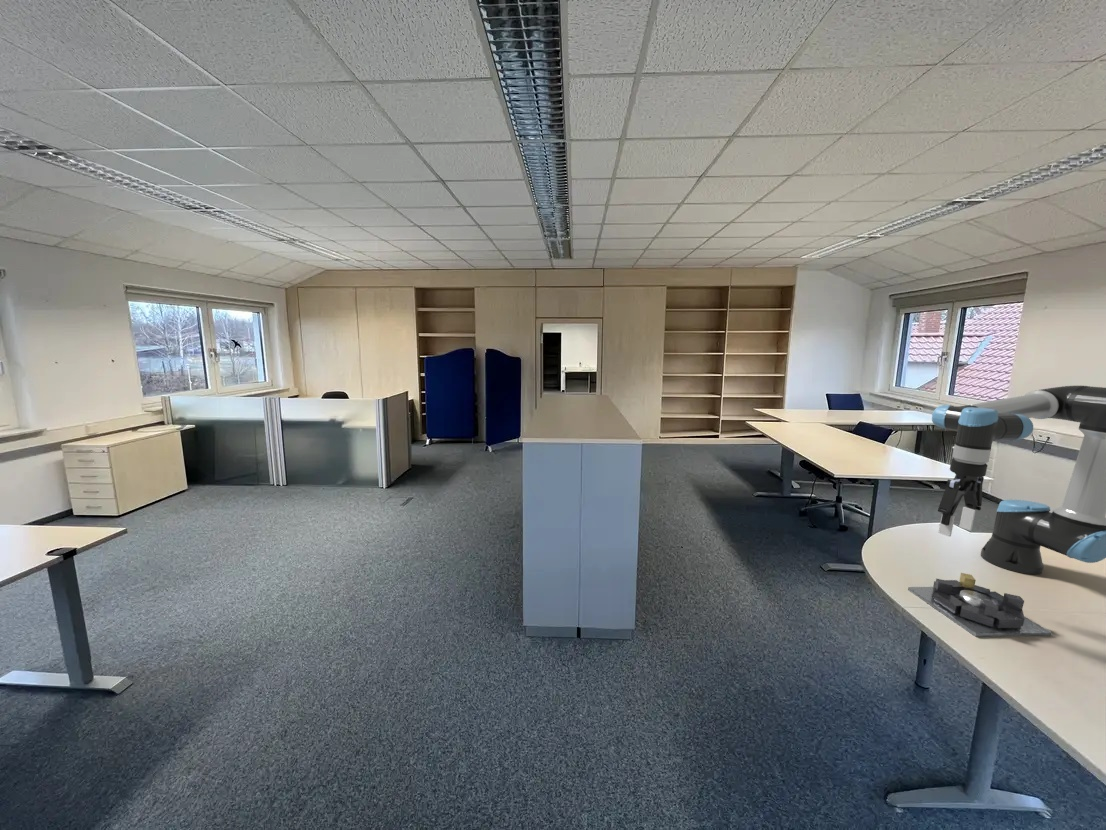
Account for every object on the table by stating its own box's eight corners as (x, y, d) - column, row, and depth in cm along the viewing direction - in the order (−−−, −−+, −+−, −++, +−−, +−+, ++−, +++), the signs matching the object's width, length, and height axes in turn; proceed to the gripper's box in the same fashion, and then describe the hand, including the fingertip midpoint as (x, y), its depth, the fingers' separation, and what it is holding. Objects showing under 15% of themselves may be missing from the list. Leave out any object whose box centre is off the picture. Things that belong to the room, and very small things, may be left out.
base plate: (971, 589, 133) (974, 576, 132) (1050, 635, 113) (1054, 620, 112) (907, 589, 133) (910, 577, 132) (975, 636, 112) (978, 621, 111)
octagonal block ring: (972, 587, 132) (976, 571, 131) (1042, 627, 113) (1046, 609, 112) (916, 587, 131) (919, 571, 130) (976, 628, 113) (980, 610, 112)
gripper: (974, 453, 129) (961, 520, 133) (930, 461, 121) (917, 532, 125) (1007, 460, 122) (992, 530, 126) (963, 468, 114) (948, 543, 118)
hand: (955, 531), depth 125 cm, fingers open, 10 cm apart
